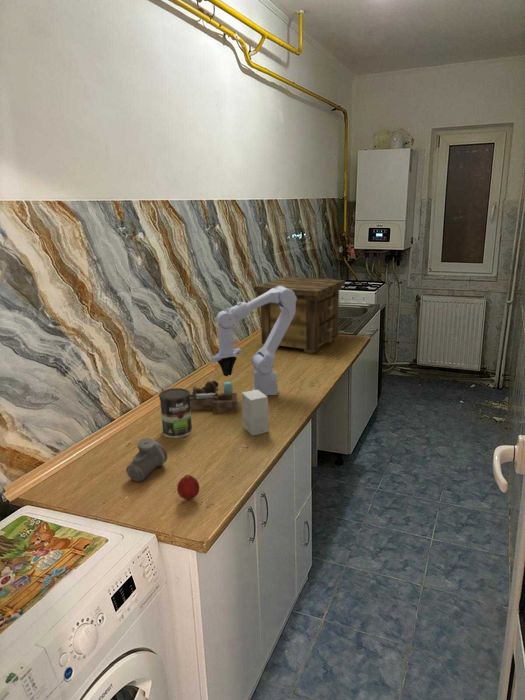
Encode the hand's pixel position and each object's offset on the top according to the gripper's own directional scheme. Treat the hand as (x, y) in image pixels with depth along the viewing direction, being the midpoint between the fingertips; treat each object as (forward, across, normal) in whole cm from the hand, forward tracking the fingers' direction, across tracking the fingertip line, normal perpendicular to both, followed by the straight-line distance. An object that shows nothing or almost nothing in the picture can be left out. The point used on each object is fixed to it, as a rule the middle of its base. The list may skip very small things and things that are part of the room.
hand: (227, 375), depth 202 cm
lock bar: (+5, -13, -1) cm, 14 cm away
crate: (+10, +77, +23) cm, 81 cm away
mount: (+9, -11, -3) cm, 15 cm away
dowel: (+9, 0, 0) cm, 9 cm away
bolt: (+10, -3, +9) cm, 14 cm away
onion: (+10, -57, -43) cm, 72 cm away
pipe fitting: (+10, -56, -22) cm, 61 cm away
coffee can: (+10, -33, -8) cm, 35 cm away
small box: (+10, -15, -28) cm, 33 cm away
